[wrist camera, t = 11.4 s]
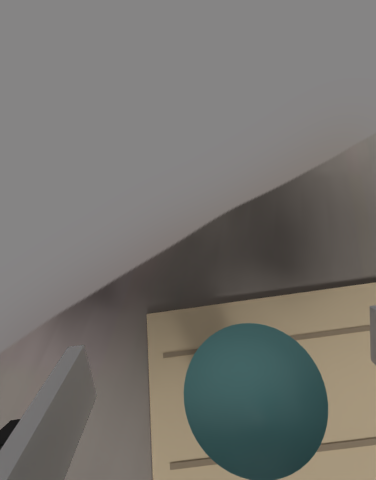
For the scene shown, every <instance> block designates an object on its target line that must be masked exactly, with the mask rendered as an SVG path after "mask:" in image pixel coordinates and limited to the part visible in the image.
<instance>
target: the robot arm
mask: <svg viewBox="0 0 376 480" xmlns="http://www.w3.org/2000/svg"><path fill="white" fill-rule="evenodd" d="M370 352H371V361H372V362H373V363H374V364H375V365H376V305H374V306H370ZM96 397H97V394H96V390H95V386H94V382H93V378H92V374H91V370H90V366H89V362H88V358H87V354H86V350H85V346H84V345H79V346H72V347H68V348H67V349H66V351H65V352H64V354H63V355H62V357H61V359H60V360H59V362H58V363H57V365H56V366H55V368H54V369H53V371H52V372H51V374H50V375H49V377H48V378H47V380H46V381H45V383H44V384H43V386H42V387H41V389H40V390H39V392H38V393H37V395H36V397H35V398H34V400H33V401H32V403H31V404H30V406H29V407H28V409H27V410H26V412H25V413H24V415H23V416H22V418H21V419H18V420H11V421H10V422H9V423H8V424H7V425H5V426H4V427H3V428H2V429H1V430H0V480H64V478H65V476H66V473H67V471H68V468H69V466H70V463H71V461H72V458H73V456H74V453H75V450H76V448H77V445H78V443H79V440H80V438H81V435H82V433H83V430H84V428H85V425H86V422H87V420H88V417H89V415H90V412H91V410H92V407H93V405H94V402H95V399H96Z"/></svg>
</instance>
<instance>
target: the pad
mask: <svg viewBox="0 0 376 480" xmlns="http://www.w3.org/2000/svg"><path fill="white" fill-rule="evenodd" d="M374 305H376V282H375V283H368V284H360V285H353V286H346V287H339V288H332V289H324V290H317V291H310V292H303V293H295V294H288V295H281V296H274V297H266V298H259V299H252V300H245V301H237V302H230V303H223V304H216V305H208V306H201V307H194V308H187V309H179V310H172V311H165V312H158V313H150V314H147V336H148V362H149V389H150V415H151V442H152V469H153V480H249V479H245V478H242V477H239V476H236V475H234V474H232V473H230V472H228V471H226V470H225V469H223V468H222V467H220V466H219V465H218V464H217V463H215V462H214V461H213V460H212V459H211V458H210V457H209V456H208V455H207V454H206V453H205V452H204V450H203V449H202V448H201V446H200V445H199V443H198V442H197V440H196V438H195V437H194V435H193V433H192V431H191V428H190V426H189V423H188V420H187V416H186V412H185V406H184V382H185V377H186V372H187V369H188V367H189V364H190V362H191V360H192V358H193V356H194V354H195V352H196V351H197V349H198V348H199V347H200V346H201V345H202V343H203V342H204V341H205V340H206V339H208V338H209V337H210V336H211V335H213V334H214V333H216V332H217V331H219V330H221V329H223V328H225V327H228V326H231V325H235V324H241V323H257V324H262V325H267V326H270V327H273V328H275V329H278V330H280V331H282V332H284V333H285V334H287V335H289V336H290V337H292V338H293V339H294V340H295V341H297V342H298V343H299V344H300V345H301V346H302V347H303V348H304V349H305V350H306V351H307V353H308V354H309V355H310V356H311V358H312V359H313V361H314V362H315V364H316V366H317V367H318V369H319V371H320V373H321V376H322V379H323V381H324V384H325V388H326V392H327V399H328V421H327V427H326V431H325V435H324V438H323V440H322V442H321V445H320V447H319V448H318V450H317V452H316V453H315V455H314V456H313V457H312V458H311V460H310V461H309V462H308V463H307V464H306V465H305V466H303V467H302V468H301V469H300V470H298V471H296V472H295V473H293V474H291V475H289V476H287V477H284V478H281V479H277V480H376V365H375V364H374V363H373V362H372V361H371V352H370V306H374Z"/></svg>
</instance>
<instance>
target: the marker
mask: <svg viewBox="0 0 376 480" xmlns="http://www.w3.org/2000/svg"><path fill="white" fill-rule="evenodd" d="M184 406H185V412H186V416H187V420H188V423H189V426H190V428H191V431H192V433H193V435H194V437H195V438H196V440H197V442H198V443H199V445H200V446H201V448H202V449H203V450H204V452H205V453H206V454H207V455H208V456H209V457H210V458H211V459H212V460H213V461H214V462H215V463H217V464H218V465H219V466H220V467H222V468H223V469H225V470H226V471H228V472H230V473H232V474H234V475H236V476H239V477H242V478H245V479H249V480H277V479H281V478H284V477H287V476H289V475H291V474H293V473H295V472H296V471H298V470H300V469H301V468H302V467H303V466H305V465H306V464H307V463H308V462H309V461H310V460H311V458H312V457H313V456H314V455H315V453H316V452H317V450H318V448H319V447H320V445H321V442H322V440H323V438H324V435H325V431H326V427H327V421H328V399H327V392H326V388H325V384H324V381H323V379H322V376H321V373H320V371H319V369H318V367H317V366H316V364H315V362H314V361H313V359H312V358H311V356H310V355H309V354H308V353H307V351H306V350H305V349H304V348H303V347H302V346H301V345H300V344H299V343H298V342H297V341H295V340H294V339H293V338H292V337H290V336H289V335H287V334H285V333H284V332H282V331H280V330H278V329H275V328H273V327H270V326H267V325H262V324H257V323H241V324H235V325H231V326H228V327H225V328H223V329H221V330H219V331H217V332H216V333H214V334H213V335H211V336H210V337H209V338H208V339H206V340H205V341H204V342H203V343H202V345H201V346H200V347H199V348H198V349H197V351H196V352H195V354H194V356H193V358H192V360H191V362H190V364H189V367H188V369H187V372H186V377H185V382H184Z"/></svg>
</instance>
